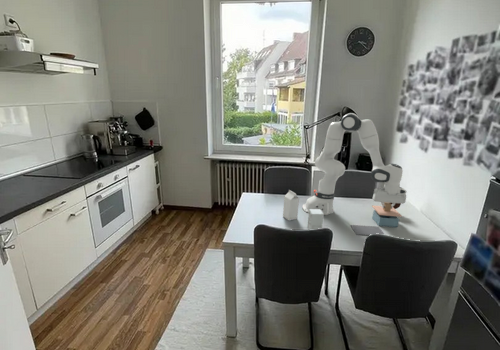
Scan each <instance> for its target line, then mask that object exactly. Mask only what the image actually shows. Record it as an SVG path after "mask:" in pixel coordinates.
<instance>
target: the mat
mask: <svg viewBox="0 0 500 350" xmlns="http://www.w3.org/2000/svg"><path fill="white" fill-rule="evenodd" d="M350 227H351V229H352V232H354V234H355V235H356V236H366V237H368V236H369V235H370V234H376V233H379V234H385V233H384V231H382V229H381V228H380V226H378V225H377V226H375V225H374V226H372V225H361V224H360V225H359V224H357V225H356V224H350Z"/></svg>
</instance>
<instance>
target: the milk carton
mask: <svg viewBox="0 0 500 350" xmlns="http://www.w3.org/2000/svg"><path fill="white" fill-rule="evenodd" d="M299 204H300V198H299V197H298V196H297V193H296V192H294V191H292V190H290V189H288V192H287V193H286V194H285V195H284V199H283V211H282V217H283V218H284V219H286V220H287V221H293V220H297V219H298V214H299V206H300V205H299Z"/></svg>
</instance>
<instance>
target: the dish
mask: <svg viewBox="0 0 500 350" xmlns="http://www.w3.org/2000/svg"><path fill="white" fill-rule="evenodd" d="M371 218H372V220H373V221H374V222H375V223H376V224H377V227H389V228H398V226H399V222H400V218H399V217H398V216H386V215H379V214H378V213H377V212H376V211H375V209H373V212H372V216H371Z"/></svg>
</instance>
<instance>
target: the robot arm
mask: <svg viewBox="0 0 500 350" xmlns="http://www.w3.org/2000/svg"><path fill="white" fill-rule="evenodd" d="M346 131H347V132H357V134H358V138H359V142H360V143H361V147H363V149H364V150H366V151H367V152H368V153H369V157H370V159H371V162H372V169H371V172H370V178H371V180H372V181H374V182H376V183H384V185H383V187H377V188H374V189H373V190H374V191H373V195H372V200H373V202H379V203H380V205H381V206H382V208H385V205H384V202H389V203H392V206H391V209H392V208H393V206H394V205H395V203H401V205H402V204H405V203H406V200H407V193H408V192H407V190H406V189H405V188H403V187H401V181H402V178H403V177H402V176H403V171H404V170H403V168H402V166H400V165H399V164H397V163H390V164H387V165H386V164H384V161H383V159H382V155H381V152H380V138H379V134H378V130H377V127H376V125H375V123H374V122H373V120H372V119H368V118H367V119H360V117H359V116H358V114H356V113H353V112H349V113H346V114H345V115H343V116H342V118H341V119H340V121H334V122H333V121H332V122H330V123H329V126H328V128H327V130H326V136H325V140H324V147H323V149H322V151H321V153H320V155H318V156H317V157H316V158H315V160H314V165H315V167H316V168H317V169H318V170H319V171H321V172H324V176H323V177H322V178H321V179H319V180H318V181H319V182H318V188H317V189H314V190H313V193H314V195H313V196H310V197H308V198H307V200H306V201H305V202H306V203H303V204H302V210H303V211H304V212H305V213H308V214H309V209H320V210H321V211H322V213H323V214H324V216H329V214H333V213H334V211H335V210H334V199H335V188H336V183H337V181H338V179H339V178H340V177H342V176H343V175H344V174H345V171H346V166H345V164H344V163H343V162H341V161H340V160H337V159H335V157H336V155H337V154H338V153H340V152H341V150H342V145H343V140H344V134H345V132H346Z"/></svg>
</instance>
